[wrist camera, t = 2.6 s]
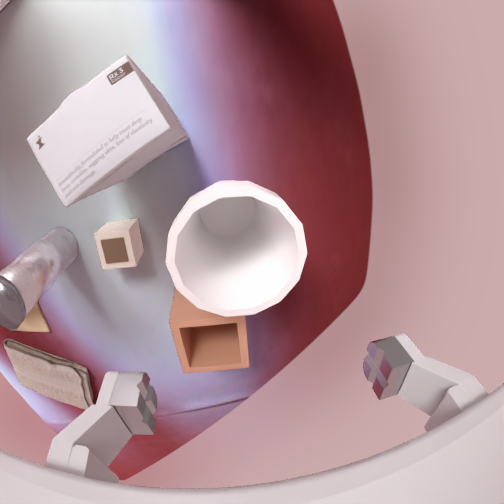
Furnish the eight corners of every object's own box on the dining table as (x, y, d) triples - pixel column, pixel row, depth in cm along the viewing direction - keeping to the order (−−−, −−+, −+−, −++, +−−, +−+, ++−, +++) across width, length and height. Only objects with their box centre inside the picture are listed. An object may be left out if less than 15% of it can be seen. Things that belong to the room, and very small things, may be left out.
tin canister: (43, 229, 28) (-25, 281, 15) (73, 223, 28) (7, 278, 15) (53, 265, 30) (-4, 328, 17) (83, 262, 30) (29, 330, 17)
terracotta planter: (177, 276, 33) (169, 321, 24) (236, 270, 33) (245, 314, 25) (187, 323, 35) (183, 373, 27) (240, 318, 36) (249, 367, 28)
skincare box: (128, 179, 28) (63, 218, 14) (101, 135, 25) (19, 142, 12) (193, 135, 27) (174, 132, 13) (165, 89, 24) (122, 49, 11)
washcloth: (98, 403, 41) (94, 415, 38) (22, 378, 37) (17, 388, 35) (89, 361, 37) (83, 375, 34) (6, 334, 33) (-1, 345, 30)
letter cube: (105, 222, 29) (92, 234, 25) (138, 218, 29) (128, 230, 26) (112, 256, 31) (101, 271, 27) (144, 252, 31) (136, 268, 27)
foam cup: (286, 212, 31) (330, 262, 20) (224, 264, 33) (232, 336, 21) (231, 147, 28) (245, 154, 16) (166, 205, 29) (137, 252, 17)
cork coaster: (-13, 276, 28) (-14, 277, 28) (26, 271, 29) (25, 273, 29) (10, 328, 32) (9, 330, 32) (50, 330, 33) (49, 332, 33)
